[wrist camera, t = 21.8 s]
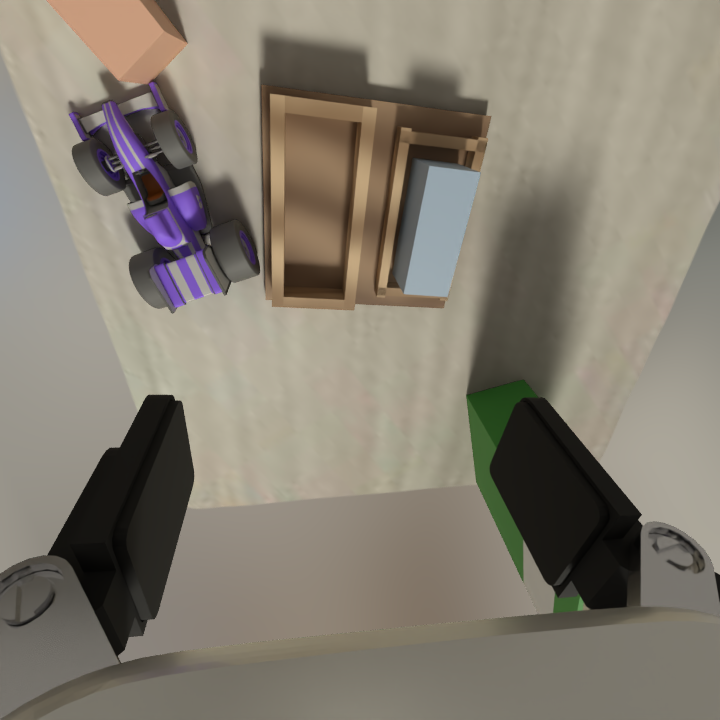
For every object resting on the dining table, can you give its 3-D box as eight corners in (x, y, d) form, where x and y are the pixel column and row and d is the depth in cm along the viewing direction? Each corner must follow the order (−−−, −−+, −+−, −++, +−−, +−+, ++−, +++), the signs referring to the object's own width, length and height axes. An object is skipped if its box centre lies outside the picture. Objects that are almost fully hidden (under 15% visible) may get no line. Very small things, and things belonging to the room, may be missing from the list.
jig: (262, 85, 29) (258, 83, 26) (486, 116, 32) (504, 117, 29) (266, 295, 38) (263, 311, 35) (440, 304, 41) (451, 319, 38)
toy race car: (175, 75, 28) (146, 68, 23) (263, 263, 37) (257, 290, 31) (57, 120, 29) (2, 124, 24) (170, 295, 37) (148, 328, 32)
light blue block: (412, 157, 32) (429, 165, 28) (458, 163, 33) (480, 172, 29) (392, 273, 38) (403, 294, 34) (431, 276, 38) (447, 297, 34)
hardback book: (524, 469, 59) (639, 656, 39) (476, 481, 59) (566, 675, 39) (523, 379, 49) (677, 569, 29) (466, 395, 49) (580, 595, 29)
